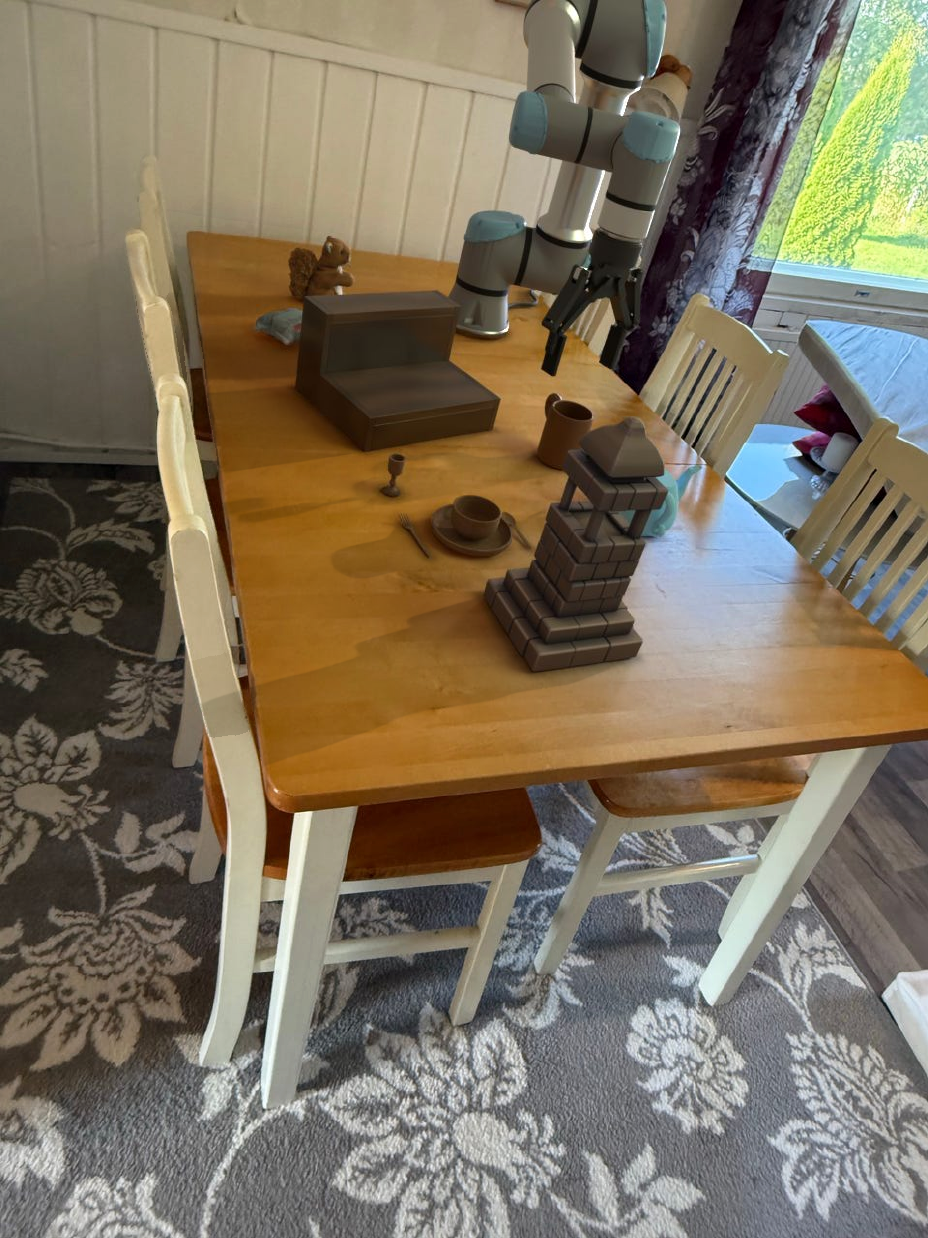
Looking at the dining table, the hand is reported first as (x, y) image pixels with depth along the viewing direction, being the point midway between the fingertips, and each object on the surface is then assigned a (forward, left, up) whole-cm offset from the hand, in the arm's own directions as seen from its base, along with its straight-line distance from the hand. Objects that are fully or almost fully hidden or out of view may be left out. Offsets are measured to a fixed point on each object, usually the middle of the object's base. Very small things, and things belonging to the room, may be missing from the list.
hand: (577, 369), depth 139 cm
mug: (0, 0, -16) cm, 16 cm away
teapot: (+2, +22, -16) cm, 27 cm away
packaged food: (+23, -50, -16) cm, 57 cm away
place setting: (+30, +11, -16) cm, 35 cm away
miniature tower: (+32, +36, -16) cm, 51 cm away
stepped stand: (+19, -21, -16) cm, 32 cm away
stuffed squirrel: (+8, -66, -16) cm, 68 cm away
